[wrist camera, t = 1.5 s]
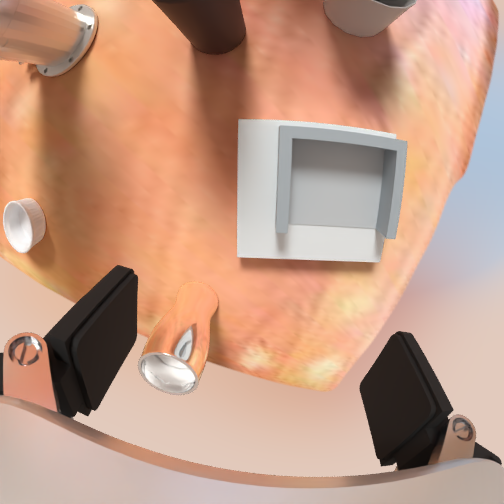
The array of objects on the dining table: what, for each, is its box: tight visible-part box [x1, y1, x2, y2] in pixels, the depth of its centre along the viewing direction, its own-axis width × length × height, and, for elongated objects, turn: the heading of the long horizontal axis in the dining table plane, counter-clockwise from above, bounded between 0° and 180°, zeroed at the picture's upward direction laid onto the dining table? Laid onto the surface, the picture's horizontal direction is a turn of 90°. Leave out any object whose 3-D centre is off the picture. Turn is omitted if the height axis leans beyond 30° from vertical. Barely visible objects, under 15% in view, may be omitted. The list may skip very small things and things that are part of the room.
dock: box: [237, 119, 407, 262], centre depth 30 cm, size 18×16×6 cm
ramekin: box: [3, 198, 46, 253], centre depth 34 cm, size 9×9×4 cm
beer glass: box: [138, 281, 218, 395], centre depth 32 cm, size 7×7×15 cm
